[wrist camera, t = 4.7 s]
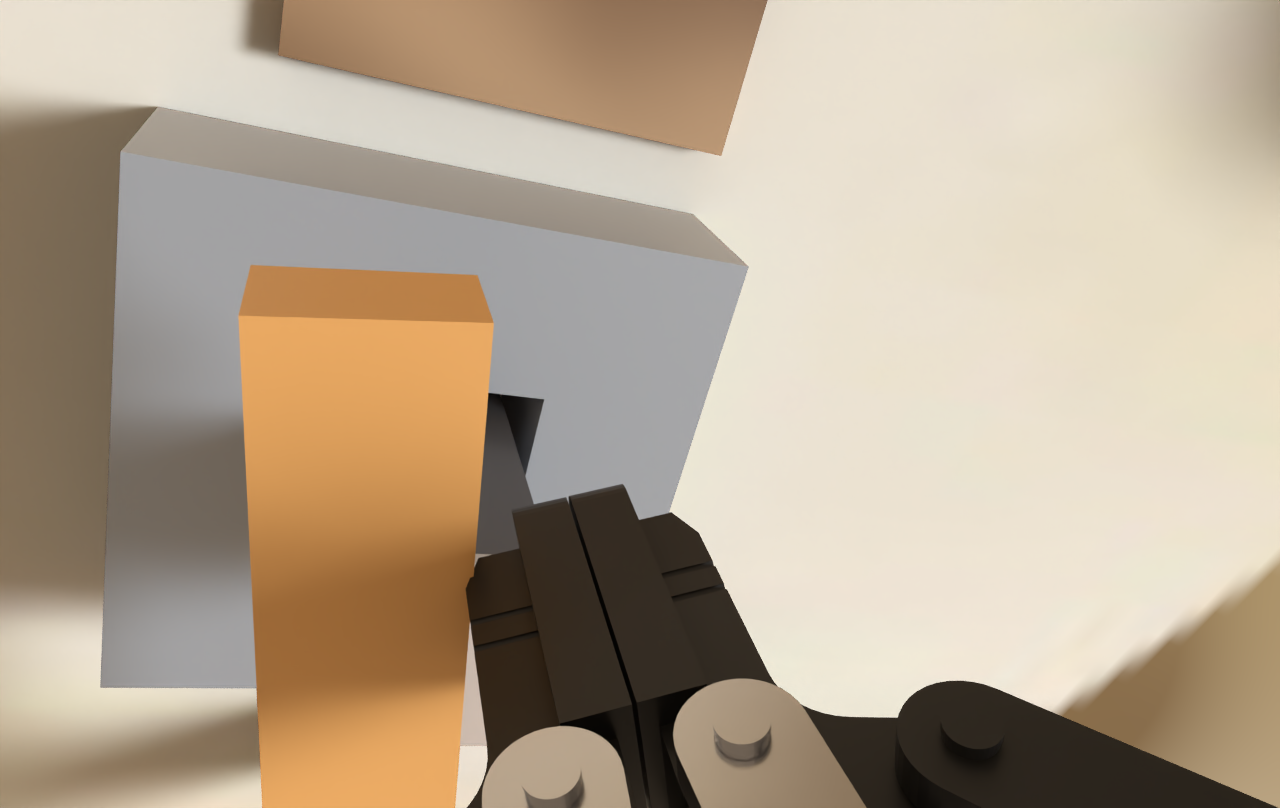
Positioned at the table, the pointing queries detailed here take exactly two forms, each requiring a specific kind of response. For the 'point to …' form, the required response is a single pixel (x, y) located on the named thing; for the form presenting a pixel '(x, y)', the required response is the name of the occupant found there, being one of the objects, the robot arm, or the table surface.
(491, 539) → the plug
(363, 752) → the orange flat bar
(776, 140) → the table surface
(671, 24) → the pad
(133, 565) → the socket block
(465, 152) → the table surface
